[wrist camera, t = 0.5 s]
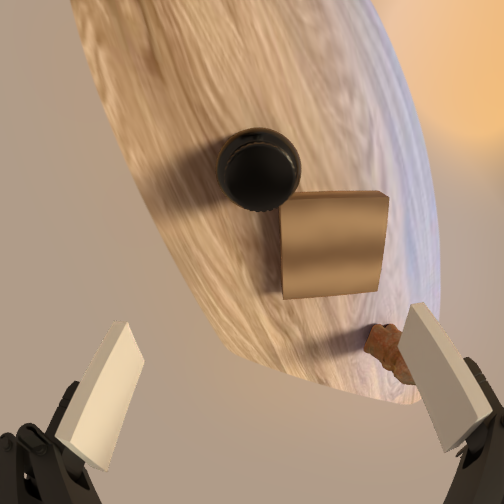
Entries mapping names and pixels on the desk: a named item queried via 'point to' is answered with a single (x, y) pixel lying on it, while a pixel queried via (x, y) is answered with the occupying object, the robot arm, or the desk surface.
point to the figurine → (388, 351)
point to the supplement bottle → (258, 169)
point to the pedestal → (332, 243)
